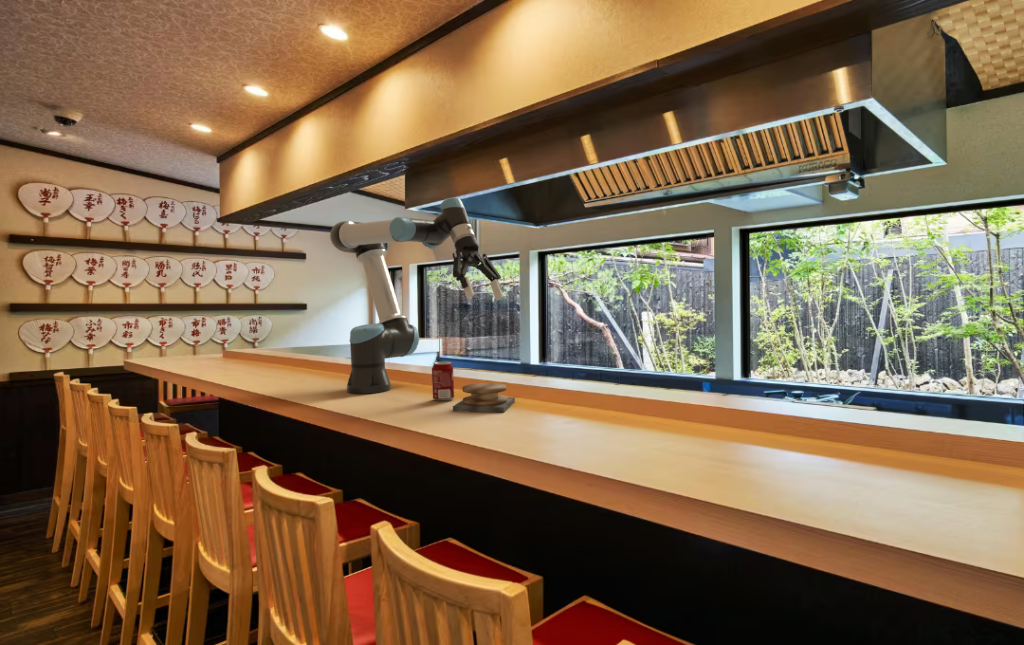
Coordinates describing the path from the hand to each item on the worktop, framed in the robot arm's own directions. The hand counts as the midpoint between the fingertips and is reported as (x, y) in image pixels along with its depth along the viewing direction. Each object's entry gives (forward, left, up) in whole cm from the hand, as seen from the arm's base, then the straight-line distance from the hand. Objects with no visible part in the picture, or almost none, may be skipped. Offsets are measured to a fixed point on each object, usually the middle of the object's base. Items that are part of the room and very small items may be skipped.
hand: (485, 297), depth 179 cm
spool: (+2, -13, -32) cm, 35 cm away
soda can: (-14, -4, -32) cm, 35 cm away
